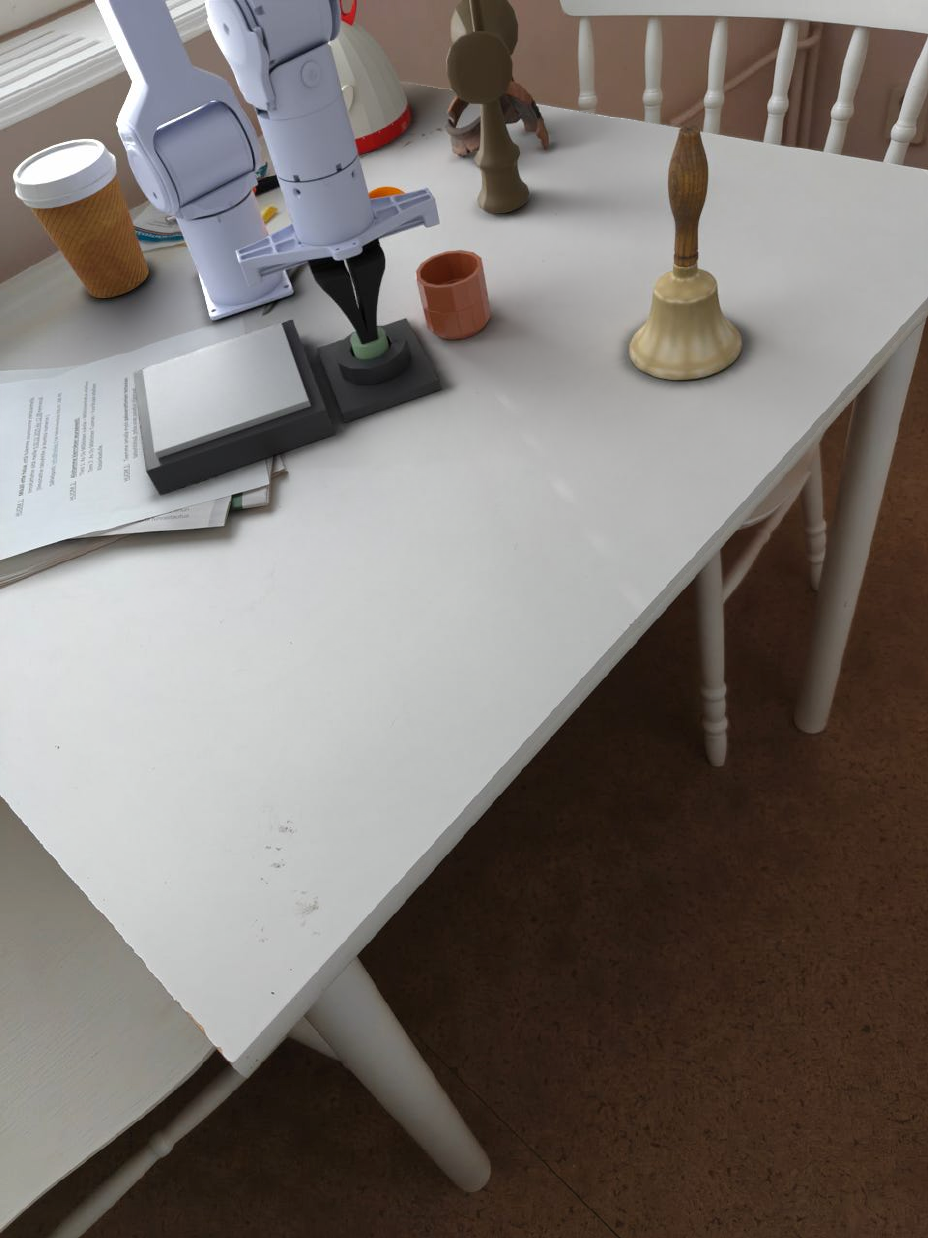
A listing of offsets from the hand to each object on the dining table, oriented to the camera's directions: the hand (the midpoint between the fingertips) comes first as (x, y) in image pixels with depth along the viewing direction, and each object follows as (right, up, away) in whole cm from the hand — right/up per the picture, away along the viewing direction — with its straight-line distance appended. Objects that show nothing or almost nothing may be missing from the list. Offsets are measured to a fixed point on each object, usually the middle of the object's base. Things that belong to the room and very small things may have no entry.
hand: (367, 336), depth 73 cm
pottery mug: (+12, +27, +25) cm, 39 cm away
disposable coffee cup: (-27, +12, +21) cm, 36 cm away
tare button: (0, -1, +1) cm, 1 cm away
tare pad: (+1, -2, +3) cm, 3 cm away
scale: (-11, -6, +2) cm, 13 cm away
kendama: (+12, +18, +17) cm, 27 cm away
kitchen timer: (-5, +34, +35) cm, 49 cm away
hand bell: (+24, -2, -2) cm, 24 cm away
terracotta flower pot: (+7, +3, +5) cm, 9 cm away
